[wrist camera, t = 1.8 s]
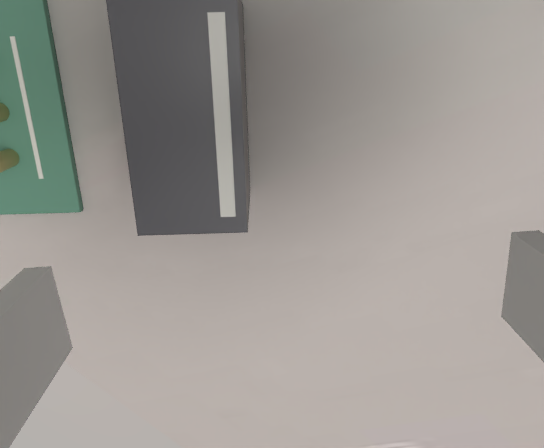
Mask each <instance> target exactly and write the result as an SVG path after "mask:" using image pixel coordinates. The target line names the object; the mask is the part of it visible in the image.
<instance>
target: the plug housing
mask: <svg viewBox="0 0 544 448" xmlns="http://www.w3.org/2000/svg"><path fill="white" fill-rule="evenodd" d="M106 3H107V10H108V17H109V25H110V32H111V40H112V47H113V55H114V62H115V69H116V77H117V84H118V92H119V99H120V107H121V114H122V122H123V129H124V136H125V144H126V151H127V159H128V166H129V174H130V181H131V188H132V196H133V203H134V211H135V218H136V226H137V233H138V236H140V235H174V234H207V233H240V232H248V219H249V203H250V171H249V147H248V122H247V97H246V72H245V47H244V22H243V4H242V2H241V0H106Z"/></svg>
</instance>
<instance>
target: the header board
mask: <svg viewBox="0 0 544 448" xmlns="http://www.w3.org/2000/svg"><path fill="white" fill-rule="evenodd" d="M82 210H83V205H82V199H81V194H80V188H79V182H78V176H77V171H76V165H75V159H74V154H73V148H72V142H71V137H70V131H69V125H68V120H67V114H66V108H65V103H64V97H63V91H62V85H61V80H60V74H59V68H58V63H57V57H56V51H55V46H54V40H53V34H52V29H51V23H50V17H49V12H48V6H47V0H0V214H35V213H69V212H81V211H82Z"/></svg>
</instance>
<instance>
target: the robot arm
mask: <svg viewBox="0 0 544 448" xmlns="http://www.w3.org/2000/svg"><path fill="white" fill-rule="evenodd" d="M501 316H502V317H503V319H504V320H505V321H506V322H507V323H508V324H509V325H510V326H511V327H512V328H513V329H514V331H515V332H516V333H517V334H518V335H519V336H520V337H521V338H522V339H523V340H524V341H525V342H526V344H527V345H528V346H529V347H530V348H531V349H532V350H533V351H534V352H535V353H536V354H537V356H538V357H539V358H540V359H541V360H542V361H543V362H544V234H543V233H542V232H540V231H539V230H538V231H525V232H512V234H511V242H510V250H509V258H508V267H507V275H506V283H505V291H504V299H503V307H502V315H501ZM72 348H73V347H72V344H71V340H70V336H69V332H68V328H67V325H66V321H65V317H64V313H63V310H62V306H61V302H60V298H59V295H58V291H57V287H56V283H55V279H54V276H53V272H52V268H51V266H50V267H36V268H24V269H23V270H22V271H21V272H20V273H19V274H17V275H16V276H15V277H14V278H13V279H12V280H11V281H10V282H9V283H8V284H7V285H5V286H4V287H3V288H2V289H1V290H0V448H9V447H10V445H11V444H12V442H13V441H14V439H15V438H16V436H17V434H18V433H19V431H20V430H21V428H22V427H23V425H24V423H25V422H26V420H27V419H28V417H29V416H30V414H31V412H32V411H33V409H34V408H35V406H36V404H37V403H38V401H39V400H40V398H41V397H42V395H43V393H44V392H45V390H46V389H47V387H48V386H49V384H50V383H51V381H52V379H53V378H54V376H55V375H56V373H57V372H58V370H59V368H60V367H61V365H62V364H63V362H64V361H65V359H66V357H67V356H68V354H69V353H70V351H71V350H72Z"/></svg>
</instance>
